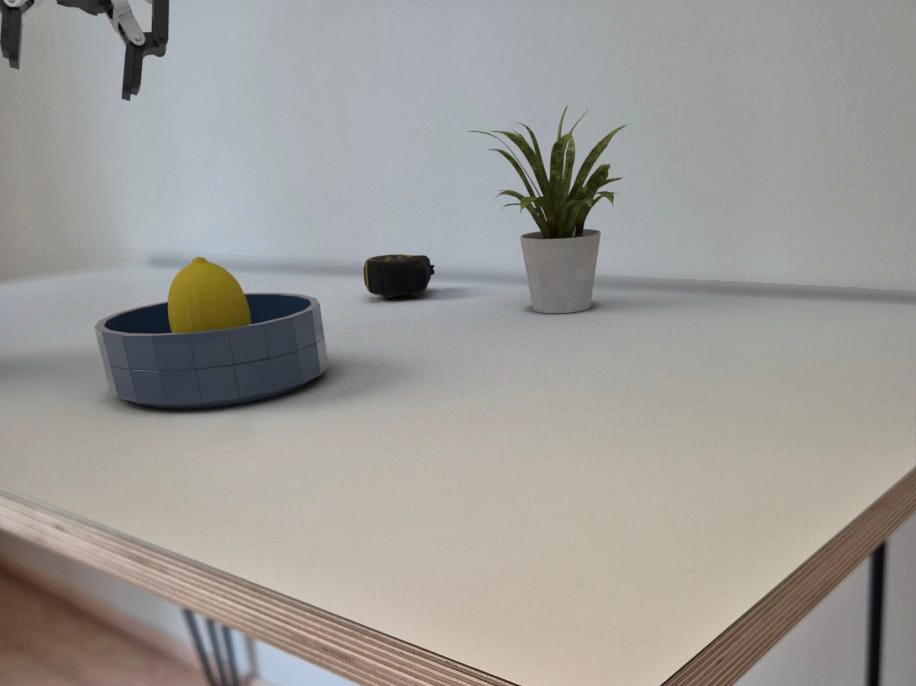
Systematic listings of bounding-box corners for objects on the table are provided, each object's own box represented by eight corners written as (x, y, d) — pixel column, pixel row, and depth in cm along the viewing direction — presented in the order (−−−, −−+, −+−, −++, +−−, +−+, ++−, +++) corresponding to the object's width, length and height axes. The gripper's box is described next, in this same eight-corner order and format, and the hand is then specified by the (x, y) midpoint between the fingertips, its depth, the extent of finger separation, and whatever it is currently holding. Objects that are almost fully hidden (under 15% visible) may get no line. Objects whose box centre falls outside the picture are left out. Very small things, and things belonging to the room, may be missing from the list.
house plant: (451, 326, 83) (435, 110, 75) (488, 297, 95) (477, 107, 87) (617, 323, 80) (619, 97, 72) (634, 293, 91) (637, 96, 83)
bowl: (144, 427, 61) (125, 346, 58) (92, 383, 72) (75, 314, 70) (362, 383, 67) (353, 308, 65) (283, 349, 79) (273, 285, 76)
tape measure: (429, 300, 95) (425, 260, 94) (360, 303, 96) (356, 264, 94) (436, 288, 101) (433, 250, 99) (372, 292, 102) (368, 254, 100)
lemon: (202, 366, 72) (180, 252, 68) (271, 365, 71) (252, 249, 67) (167, 385, 68) (141, 264, 64) (240, 384, 66) (218, 261, 63)
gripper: (-15, -193, 72) (-30, 31, 73) (183, -119, 78) (166, 88, 79) (-8, -130, 79) (-22, 74, 80) (173, -67, 84) (158, 123, 86)
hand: (71, 81), depth 79 cm, fingers open, 8 cm apart
